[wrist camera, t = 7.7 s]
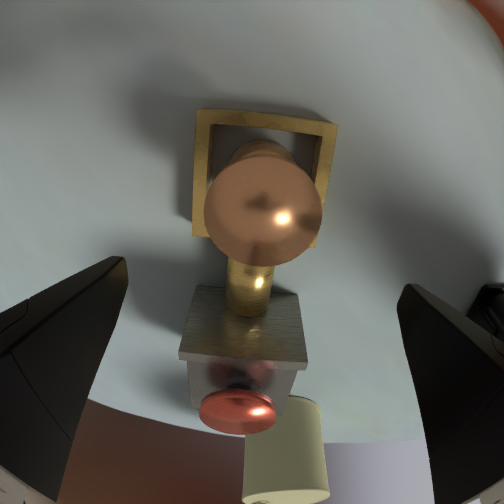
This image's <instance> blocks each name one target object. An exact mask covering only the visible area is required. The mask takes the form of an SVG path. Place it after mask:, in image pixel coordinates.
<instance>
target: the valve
mask: <svg viewBox="0 0 504 504" xmlns="http://www.w3.org/2000/svg"><path fill="white" fill-rule="evenodd" d="M274 269H275V266H268V267H256V266H250V265H246V264H242V263H240V262H237V261H235V260H233V259H231V258H230V257H228V263H227V277H226V288H216V287H207V286H198V285H196V289H195V292H194V296H193V299H192V303H191V306H190V310H189V314H188V317H187V321H186V324H185V328H184V332H183V336H182V339H181V343H180V347H179V351H178V353H179V360H186V361H187V369H188V381H189V392H190V402H191V408H194V409H200V412H199V416H200V419H201V420H202V422H203V423H204V424H206V425H207V426H208V427H210V428H212V429H214V430H217V431H220V432H224V433H228V434H237V435H246V434H254V433H259V432H262V431H265V430H267V429H269V428H270V427H271V426H273V425H274V423H275V421H276V415H277V416H282V413H283V410H284V408H285V405H286V402H287V399H288V397H289V394H290V391H291V388H292V385H293V382H294V379H295V377H296V374H297V371H298V370H306V367H307V364H308V358H307V351H306V345H305V338H304V331H303V325H302V318H301V312H300V305H299V299H298V295H293V294H280V293H271V287H272V281H273V275H274Z"/></svg>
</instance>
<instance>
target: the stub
mask: <svg viewBox="0 0 504 504" xmlns="http://www.w3.org/2000/svg"><path fill="white" fill-rule="evenodd" d="M321 220H322V204H321V199H320V196H319V193H318V191H317V189H316V187H315V185H314V183H313V181H312V180H311V178H310V177H309V176H308V174H307V173H306V172H305V171H304V170H303V169H302V168H301V167H299V166H298V165H297V164H295V162H294V160H293V158H292V156H291V155H290V153H289V152H288V151H287V150H286V149H285V148H284V147H282V146H281V145H279V144H277V143H275V142H272V141H268V140H255V141H251V142H248V143H246V144H244V145H242V146H241V147H239V148H238V149H237V150H236V151H235V152H234V154H233V155H232V157H231V158H230V160H229V163H228V165H227V166H226V167H225V168H224V169H223V170H222V171H221V172H220V173H219V174H218V175H217V176H216V178H215V179H214V181H213V182H212V184H211V186H210V188H209V190H208V193H207V195H206V198H205V202H204V222H205V226H206V229H207V232H208V234H209V236H210V238H211V240H212V241H213V243H214V244H215V245H216V246H217V247H218V249H219V250H221V251H222V252H223V253H224V254H225V255H227V256H228V257H230V258H231V259H233V260H235V261H237V262H240V263H242V264H246V265H250V266H256V267H268V266H275V265H280V264H283V263H286V262H288V261H290V260H292V259H294V258H296V257H297V256H299V255H300V254H301V253H303V252H304V251H305V250H306V249H307V248H308V247H309V246H310V245H311V243H312V242H313V240H314V239H315V237H316V235H317V233H318V231H319V228H320V225H321Z"/></svg>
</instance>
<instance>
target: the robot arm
mask: <svg viewBox="0 0 504 504" xmlns="http://www.w3.org/2000/svg"><path fill="white" fill-rule="evenodd" d="M127 287H128V273H127V266H126V260H125V258H124V257H120V256H111V257H109V258H107V259H104V260H102V261H100V262H98V263H96V264H94V265H92V266H90V267H88V268H86V269H84V270H82V271H80V272H78V273H76V274H74V275H72V276H70V277H68V278H66V279H64V280H62V281H60V282H58V283H56V284H54V285H53V286H51V287H49V288H47V289H45V290H43V291H41V292H39V293H37V294H35V295H34V296H32V297H30V298H29V299H26V300H24V301H22V302H21V303H19V304H17V305H15V306H13V307H11V308H9V309H7V310H5V311H3V312H1V313H0V504H26V503H25V501H24V499H25V496H26V493H27V490H28V489H29V490H31V491H33V492H35V493H36V494H38V495H40V496H43V497H44V498H47V499H49V500H51V501H53V502H57V499H58V495H59V491H60V487H61V483H62V479H63V475H64V472H65V468H66V464H67V461H68V457H69V453H70V450H71V447H72V442H73V440H74V436H75V433H76V430H77V427H78V424H79V421H80V418H81V415H82V412H83V409H84V406H85V403H86V400H87V397H88V395H89V392H90V389H91V386H92V384H93V381H94V378H95V376H96V373H97V370H98V368H99V365H100V363H101V360H102V358H103V355H104V353H105V350H106V348H107V345H108V343H109V340H110V338H111V335H112V333H113V331H114V328H115V326H116V323H117V319H118V316H119V313H120V309H121V306H122V303H123V300H124V297H125V293H126V290H127ZM397 314H398V319H399V324H400V329H401V334H402V339H403V344H404V349H405V353H406V356H407V360H408V364H409V367H410V371H411V375H412V379H413V383H414V387H415V391H416V395H417V399H418V404H419V408H420V413H421V418H422V422H423V427H424V432H425V438H426V443H427V449H428V455H429V458H430V459H429V462H430V469H431V475H432V483H433V491H434V500H435V504H467V503H469V502H471V501H473V500H475V499H477V498H480V502H481V504H504V286H494V285H485V286H483V287H482V289H481V291H480V293H479V295H478V297H477V299H476V301H475V303H474V305H473V306H472V308H471V310H470V312H469V314H468V316H467V317H466V316H464V315H463V314H461V313H460V312H458V311H457V310H456V309H454V308H453V307H451V306H450V305H448V304H447V303H445V302H444V301H442V300H441V299H439V298H438V297H436V296H435V295H433V294H432V293H430V292H429V291H427V290H426V289H424V288H423V287H421V286H420V285H418V284H406V285H405V287H404V289H403V291H402V294H401V296H400V298H399V300H398V303H397Z"/></svg>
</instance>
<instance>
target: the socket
mask: <svg viewBox="0 0 504 504" xmlns="http://www.w3.org/2000/svg"><path fill="white" fill-rule="evenodd" d="M214 124H224V125H237V126H248V127H258V128H267V129H276V130H284V131H291V132H299V133H305V134H312V135H317V141H316V148H315V154H314V160H313V167H312V173H311V180H312V181H313V183H314V185H315V187H316V189H317V191H318V193H319V196H320V199H321V204H322V211H323V207H324V202H325V196H326V191H327V186H328V181H329V175H330V170H331V164H332V159H333V153H334V147H335V141H336V135H337V129H338V125H336V124H334V123H330V122H325V121H319V120H313V119H307V118H300V117H293V116H286V115H278V114H270V113H261V112H251V111H239V110H226V109H209V108H201V109H197V119H196V135H195V153H194V175H193V207H192V236H200V237H210V236H209V234H208V232H207V229H206V226H205V222H204V202H205V198H206V195H207V193H208V190H209V187H210V170H211V154H212V139H213V126H214ZM317 235H318V233H317ZM317 235H316V237H315V239H314V240H313V242H312V243H311V245H310V246H309V247H311V248H315V245H316V240H317Z"/></svg>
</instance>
